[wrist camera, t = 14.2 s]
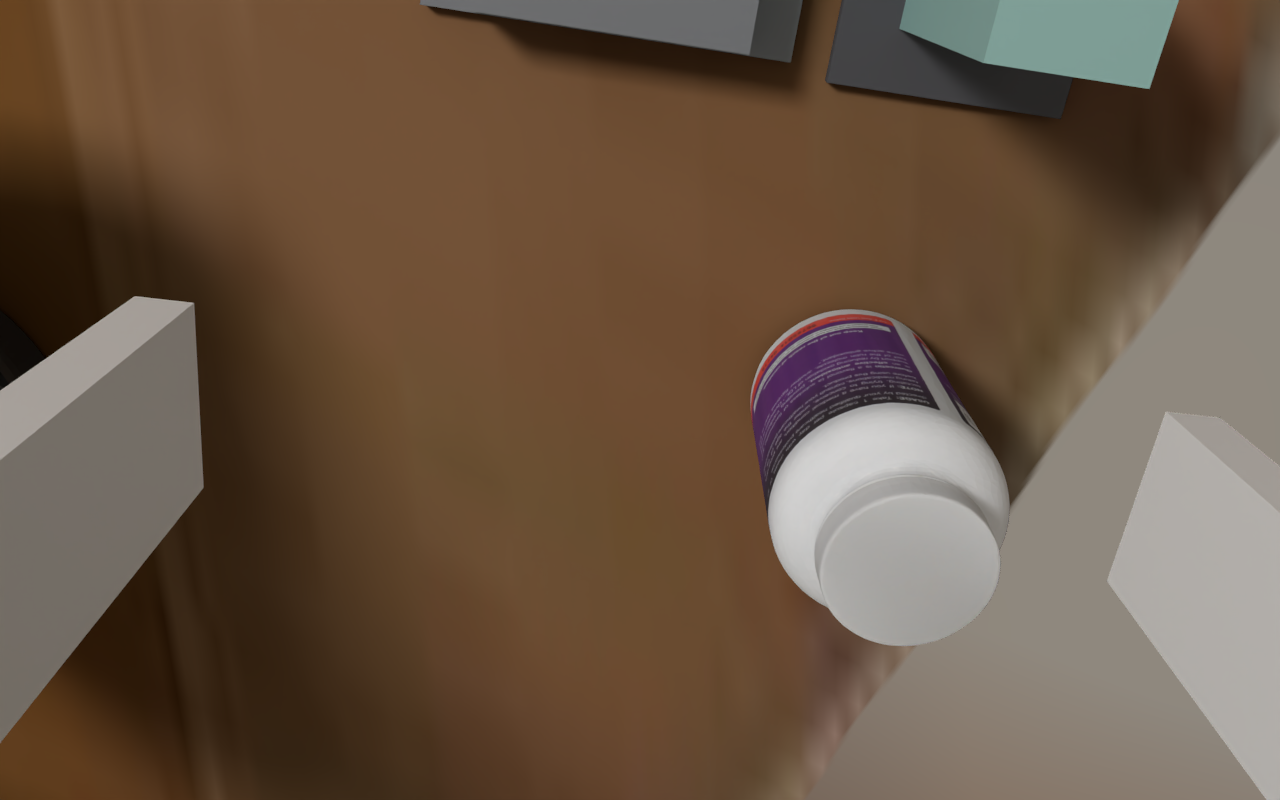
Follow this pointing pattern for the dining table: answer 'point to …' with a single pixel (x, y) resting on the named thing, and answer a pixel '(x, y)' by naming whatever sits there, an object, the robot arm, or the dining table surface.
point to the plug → (1051, 34)
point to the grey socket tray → (662, 20)
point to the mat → (931, 65)
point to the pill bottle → (877, 479)
